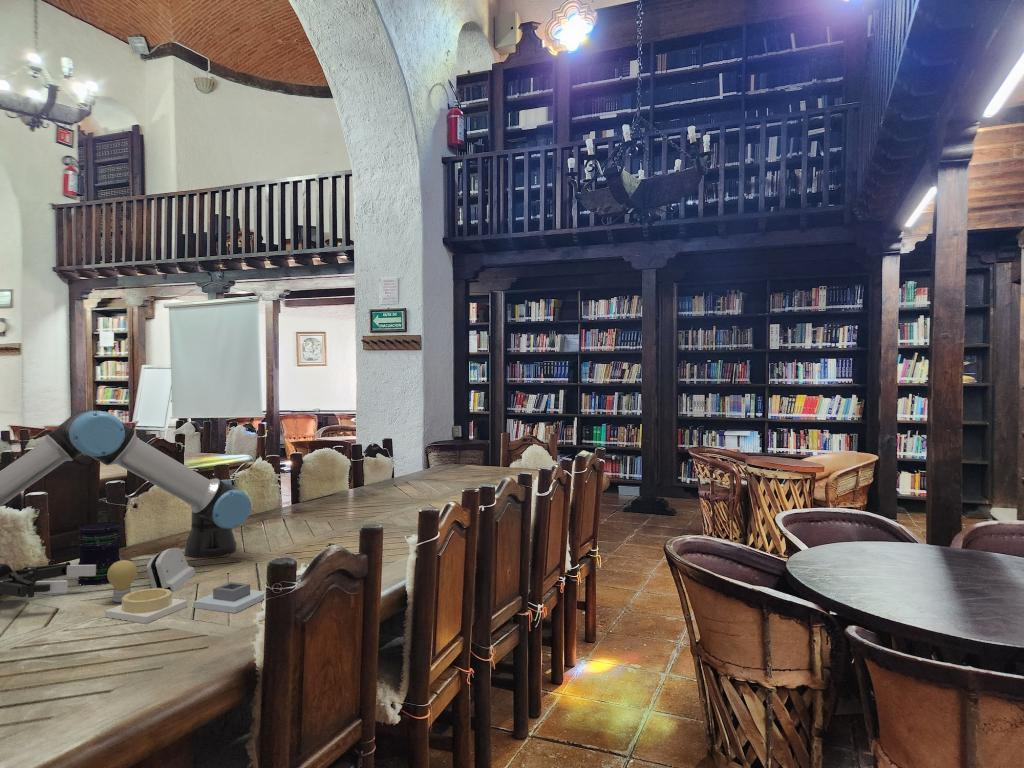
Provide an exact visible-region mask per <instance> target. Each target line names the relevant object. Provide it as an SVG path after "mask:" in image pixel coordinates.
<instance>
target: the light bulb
mask: <svg viewBox="0 0 1024 768" xmlns="http://www.w3.org/2000/svg"><path fill="white" fill-rule="evenodd" d="M137 575H138V568H137V566H136V564H135V562H133V561H130V560H127V559H126V560H125V559H123V560H121V559H120V561H118V562H115V563H114V564H112V565H111V567H110V568H109V570H108V573H107V578H108V580H109V582H110V583H109V584H111V585H112V587H113V591H112V593H113V594H112V597H113V598H112V600H113V602H115V603H122V597H124V596H125V595H126V594H128V593H131V591H132V589H131V587H130V586H131V585H132V583H133V582H134V581H135V579H136V578H137Z"/></svg>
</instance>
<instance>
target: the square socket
mask: <svg viewBox="0 0 1024 768" xmlns="http://www.w3.org/2000/svg"><path fill="white" fill-rule="evenodd" d="M264 592H265V591H262V590H255V589H251V583H242V582H234V581H230V582H226V583H225V584H221V585H220V586H216V587H214V588H213V590H212V593H211V594H209V595H206V596H204V597H201V598H199V599H196V600H195V601H193V608H194V609H203V610H207V611H208V610H210V611H215V612H224V613H230V614H238V613H239V612H241V611H243V610H245V609H247V608H249V606H250V607H251V605H252V606H254V605H256V604H258V603H260V602H262V601H264V600H263V598H264Z"/></svg>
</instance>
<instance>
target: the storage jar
mask: <svg viewBox="0 0 1024 768" xmlns="http://www.w3.org/2000/svg"><path fill="white" fill-rule="evenodd" d="M121 527H122V523H120V522H116V521H101V522H94V523H92V522H91V523H87V524H83V525H80V526H79V527H78V531H79V533H78V549H79V561H78V562H77V565H96V575H95V576H77V578H78V580H77V584H78V585H79V584H81V585H80V586H83V585H96V586H103V585H107V584H111V583H110V582H109V580H108V578H107V573H108V570H109V568H110V567H111V565H112V564H114V563H115V562H118V561H121V558H120V545H121V542H122V541H121V539H122V531H121ZM102 584H103V585H102Z"/></svg>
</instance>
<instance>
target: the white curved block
mask: <svg viewBox="0 0 1024 768" xmlns="http://www.w3.org/2000/svg"><path fill="white" fill-rule="evenodd" d="M146 571H147V574H148V578H149V582H150V585H151V589H154V588H162V589H168V588H170V591H171V592H175V591H176V590H177V589H178V588H180V587H181V586H182V585H184V583H187V581H189V578H190V579H191V578H193V577H194V574H195V573H196V571H195V568H194V567H193V566H189V564H188V561H187V559H186V555H185V553H184V552H183V549H181V548H180V547H172V548H166V549H165V550H162V551H160V552H158V553H156V554H155V555H154V556H152V557H151V558H150V560H149V561H148V562H147V565H146ZM195 575H196V574H195Z"/></svg>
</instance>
